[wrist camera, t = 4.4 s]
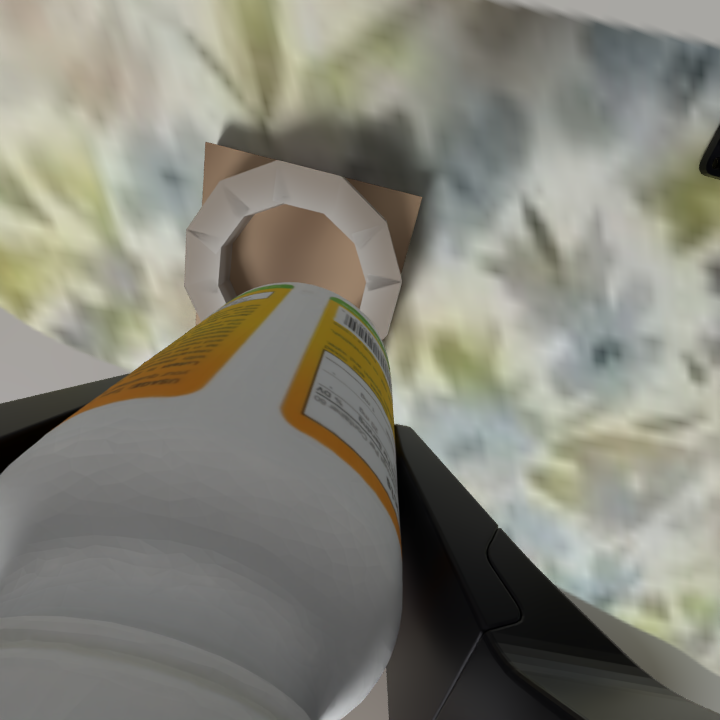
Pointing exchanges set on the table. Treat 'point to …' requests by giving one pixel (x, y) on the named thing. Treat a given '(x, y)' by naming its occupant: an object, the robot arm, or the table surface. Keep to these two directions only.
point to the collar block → (295, 234)
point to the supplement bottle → (211, 528)
